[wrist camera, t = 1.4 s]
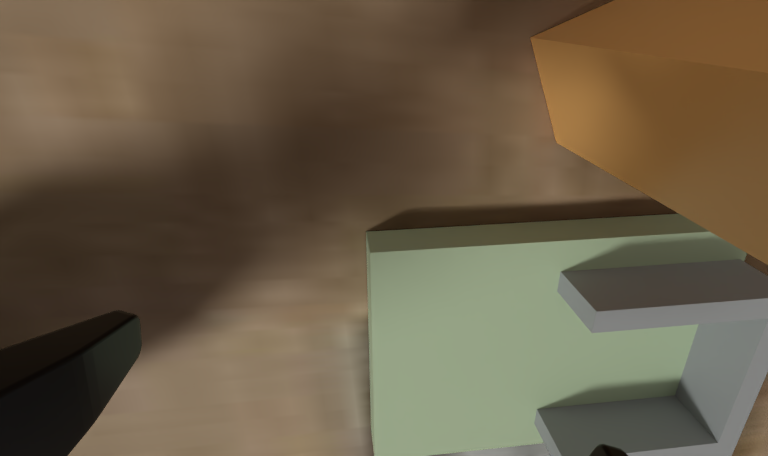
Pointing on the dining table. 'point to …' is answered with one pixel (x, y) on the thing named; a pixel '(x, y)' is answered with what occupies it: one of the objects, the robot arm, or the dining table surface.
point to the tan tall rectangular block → (670, 105)
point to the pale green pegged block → (563, 337)
